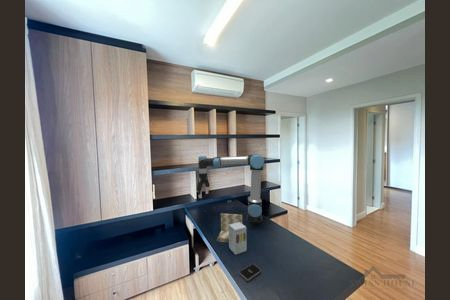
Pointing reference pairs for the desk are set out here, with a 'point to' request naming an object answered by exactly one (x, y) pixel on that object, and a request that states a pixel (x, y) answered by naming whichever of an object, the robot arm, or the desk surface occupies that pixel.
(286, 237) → the desk surface
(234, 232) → the supplement box
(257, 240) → the desk surface
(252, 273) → the external hard drive
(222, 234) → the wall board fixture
